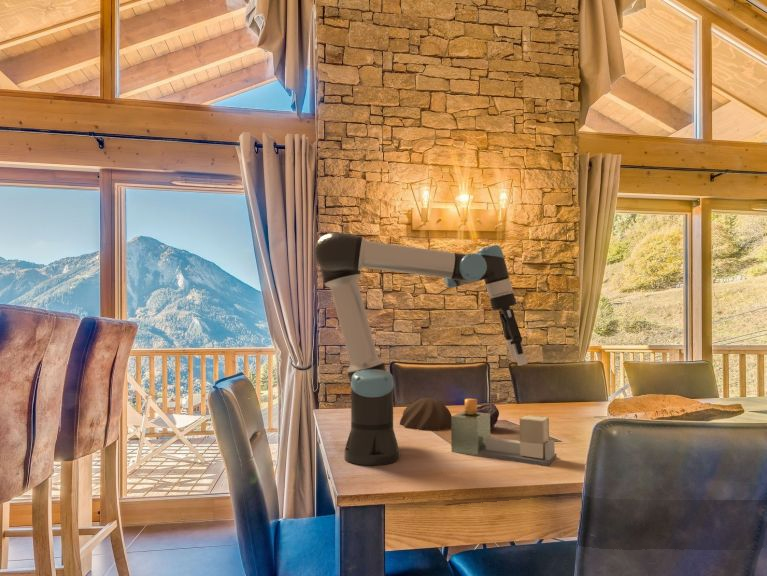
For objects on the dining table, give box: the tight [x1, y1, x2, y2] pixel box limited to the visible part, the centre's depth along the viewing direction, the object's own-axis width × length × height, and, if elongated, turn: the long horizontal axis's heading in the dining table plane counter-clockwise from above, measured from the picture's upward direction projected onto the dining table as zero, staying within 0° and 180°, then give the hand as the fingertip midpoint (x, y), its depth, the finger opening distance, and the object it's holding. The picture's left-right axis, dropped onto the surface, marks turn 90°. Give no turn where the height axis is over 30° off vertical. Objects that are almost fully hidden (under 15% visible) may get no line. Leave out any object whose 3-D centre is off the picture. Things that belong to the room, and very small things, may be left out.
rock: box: [477, 402, 500, 431], centre depth 174 cm, size 12×9×10 cm
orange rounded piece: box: [464, 398, 478, 415], centre depth 147 cm, size 4×4×4 cm
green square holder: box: [450, 410, 491, 456], centre depth 146 cm, size 10×8×10 cm
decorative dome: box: [399, 397, 452, 431], centre depth 182 cm, size 19×20×10 cm
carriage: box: [519, 414, 550, 459], centre depth 137 cm, size 7×6×10 cm
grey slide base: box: [478, 436, 557, 467], centre depth 139 cm, size 10×19×5 cm, turn 58°
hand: (519, 362), depth 153 cm, fingers open, 13 cm apart
